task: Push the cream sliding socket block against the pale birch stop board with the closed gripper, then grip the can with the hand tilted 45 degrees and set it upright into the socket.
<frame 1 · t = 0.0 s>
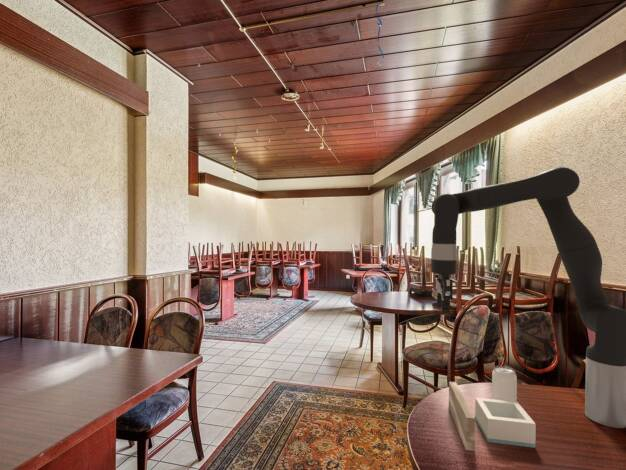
hand: (443, 309, 104), 29 cm above the table, tool pointing down, fingers open, 8 cm apart
can: (503, 409, 100), on the table
stop board: (460, 427, 91), on the table
socket block: (503, 420, 89), point 3 cm above the table, slide at 4.0 cm
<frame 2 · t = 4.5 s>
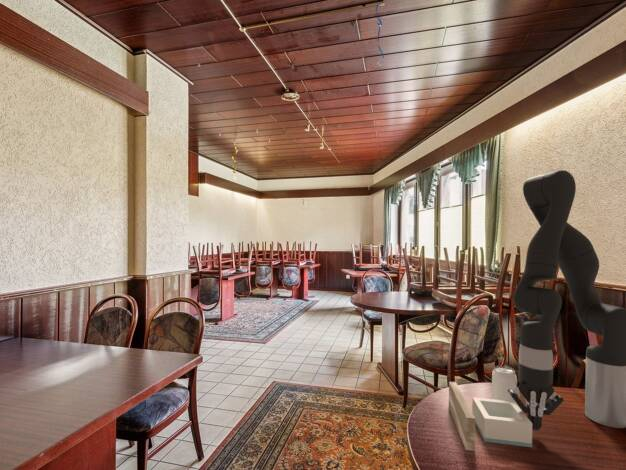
hand: (534, 428, 87), 2 cm above the table, tool pointing down, fingers closed
socket block: (500, 420, 89), point 3 cm above the table, slide at 3.2 cm, touching gripper
everything else where it was.
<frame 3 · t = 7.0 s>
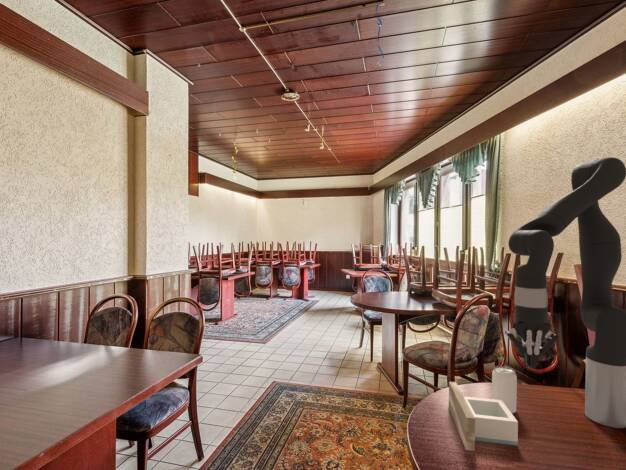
hand: (531, 367, 90), 17 cm above the table, tool pointing down, fingers closed
socket block: (486, 419, 89), point 3 cm above the table, slide at 0.0 cm
everything else where it was.
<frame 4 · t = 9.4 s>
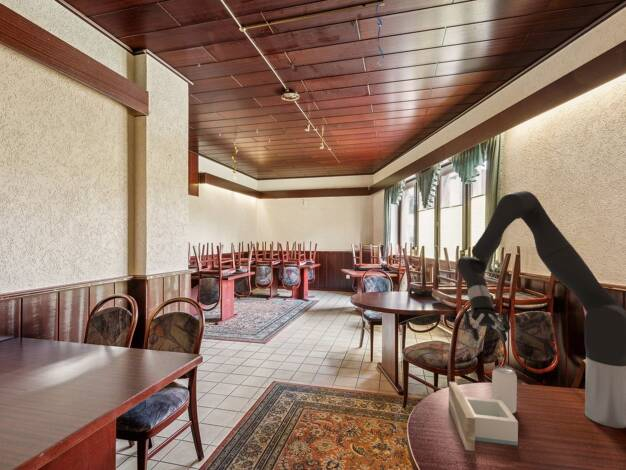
hand: (490, 341, 112), 17 cm above the table, tool tilted 45°, fingers open, 8 cm apart
nothing on the table moved.
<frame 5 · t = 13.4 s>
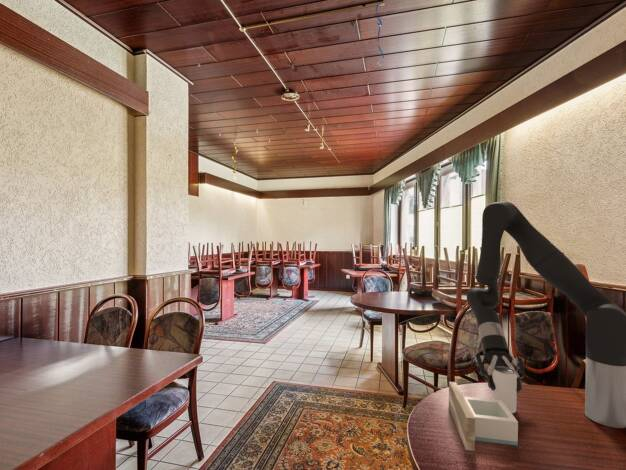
hand: (505, 390, 99), 6 cm above the table, tool tilted 45°, fingers closed on can, 6 cm apart
can: (503, 409, 100), on the table, touching gripper
everything else where it was.
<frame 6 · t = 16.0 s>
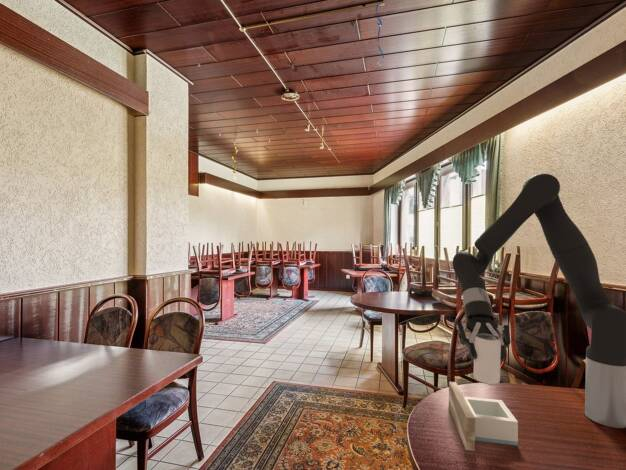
hand: (488, 359, 89), 19 cm above the table, tool tilted 45°, fingers closed on can, 6 cm apart
can: (486, 380, 91), point 13 cm above the table, touching gripper
everything else where it was.
when the fingers open (9 cm above the table, at t = 18.7 s): can drops 1 cm, resting on socket block.
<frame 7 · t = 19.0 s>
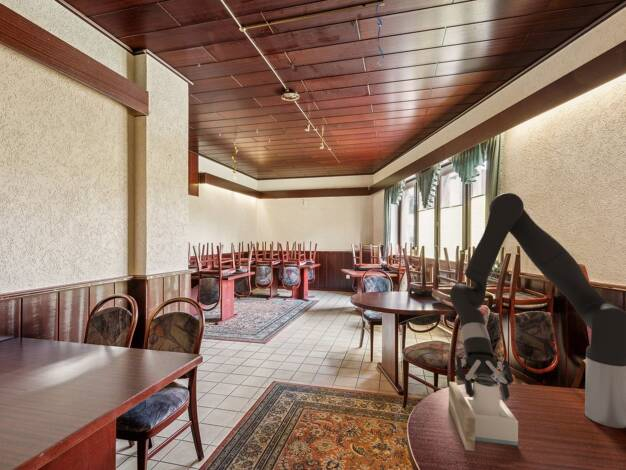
hand: (488, 398, 88), 9 cm above the table, tool tilted 45°, fingers open, 8 cm apart
can: (485, 426, 90), point 1 cm above the table, touching socket block
socket block: (487, 419, 89), point 3 cm above the table, slide at 0.0 cm, touching can
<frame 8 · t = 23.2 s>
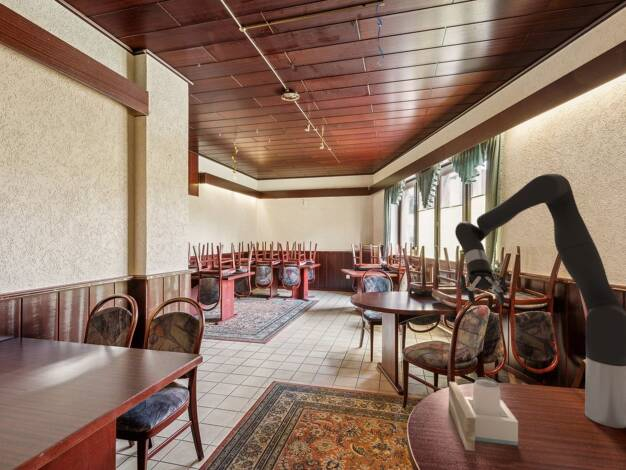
hand: (487, 303, 107), 31 cm above the table, tool tilted 45°, fingers open, 8 cm apart
nothing on the table moved.
at the end: socket block slide at 0.0 cm; can 0.4 cm from the target spot, point 0.8 cm above the table; can tilted 0° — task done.
